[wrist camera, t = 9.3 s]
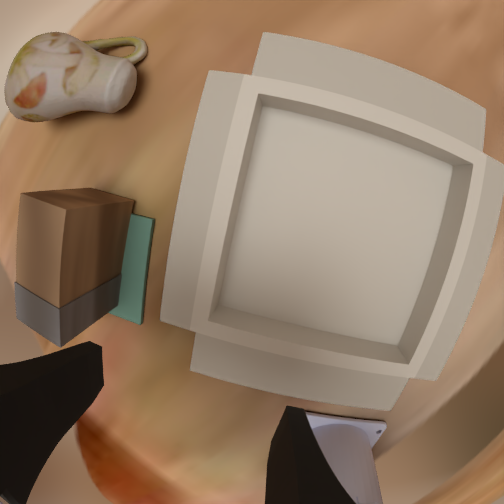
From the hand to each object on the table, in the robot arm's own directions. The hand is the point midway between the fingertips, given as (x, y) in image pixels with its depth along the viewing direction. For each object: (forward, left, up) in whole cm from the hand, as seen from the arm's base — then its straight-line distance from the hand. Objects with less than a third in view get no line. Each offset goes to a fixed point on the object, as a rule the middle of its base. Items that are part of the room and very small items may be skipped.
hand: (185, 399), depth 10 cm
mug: (+13, +14, -11) cm, 22 cm away
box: (+1, +10, -10) cm, 14 cm away
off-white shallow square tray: (+6, -5, -10) cm, 13 cm away
